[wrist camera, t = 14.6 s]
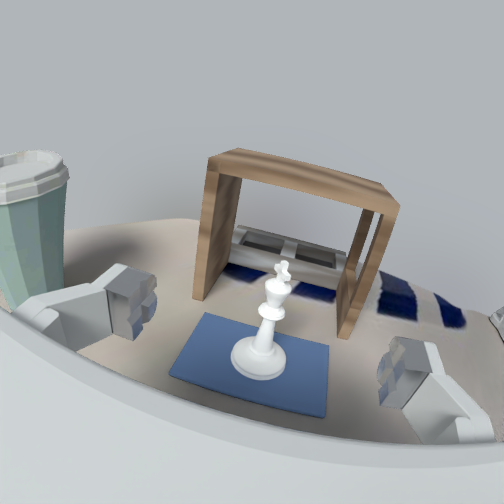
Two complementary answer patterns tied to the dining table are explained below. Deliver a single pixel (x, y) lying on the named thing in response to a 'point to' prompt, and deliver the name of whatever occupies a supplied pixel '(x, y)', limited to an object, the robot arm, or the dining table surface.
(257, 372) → the chess piece
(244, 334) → the mat
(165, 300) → the dining table surface
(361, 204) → the tunnel
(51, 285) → the disposable coffee cup
